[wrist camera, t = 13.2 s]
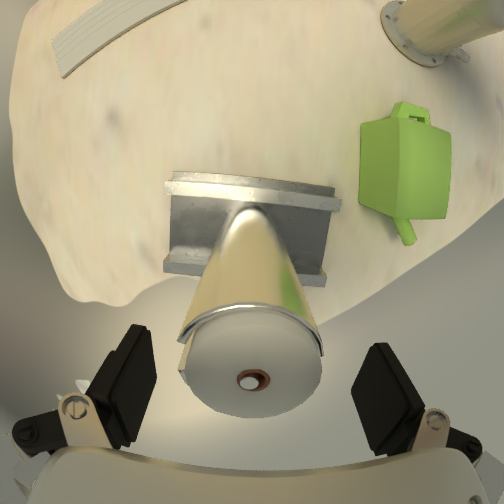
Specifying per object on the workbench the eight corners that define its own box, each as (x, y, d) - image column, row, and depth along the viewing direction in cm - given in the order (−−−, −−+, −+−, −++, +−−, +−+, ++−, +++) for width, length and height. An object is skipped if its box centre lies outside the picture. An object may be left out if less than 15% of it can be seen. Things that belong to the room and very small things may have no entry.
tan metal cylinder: (245, 191, 32) (230, 281, 8) (286, 223, 33) (360, 366, 10) (213, 233, 34) (144, 385, 10) (254, 263, 35) (261, 439, 11)
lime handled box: (410, 235, 36) (449, 257, 27) (354, 234, 35) (389, 260, 26) (417, 116, 30) (460, 112, 21) (359, 103, 29) (398, 90, 20)
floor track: (332, 187, 33) (342, 191, 29) (315, 281, 37) (322, 294, 33) (175, 171, 32) (165, 172, 28) (171, 267, 36) (163, 279, 32)
